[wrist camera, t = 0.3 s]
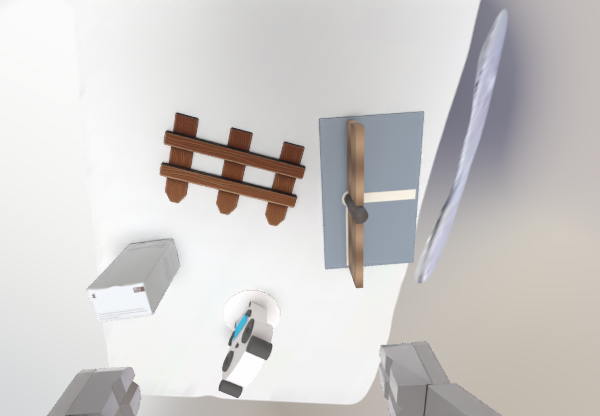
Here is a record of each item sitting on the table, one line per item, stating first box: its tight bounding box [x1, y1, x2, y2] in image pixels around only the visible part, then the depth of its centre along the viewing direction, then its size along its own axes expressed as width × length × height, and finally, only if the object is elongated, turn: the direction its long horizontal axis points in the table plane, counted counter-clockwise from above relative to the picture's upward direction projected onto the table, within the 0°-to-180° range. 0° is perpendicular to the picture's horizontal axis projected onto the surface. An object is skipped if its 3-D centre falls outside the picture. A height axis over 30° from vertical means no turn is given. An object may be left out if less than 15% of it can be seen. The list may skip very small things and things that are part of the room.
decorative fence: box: [160, 113, 305, 226], centre depth 55 cm, size 23×2×15 cm
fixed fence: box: [344, 193, 368, 288], centre depth 56 cm, size 15×2×8 cm, turn 4°
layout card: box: [319, 112, 424, 269], centre depth 57 cm, size 28×17×1 cm, turn 4°
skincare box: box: [86, 239, 180, 322], centre depth 53 cm, size 8×6×15 cm
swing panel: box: [347, 120, 364, 206], centre depth 51 cm, size 12×1×7 cm, turn 4°
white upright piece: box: [219, 290, 280, 398], centre depth 59 cm, size 12×11×15 cm
